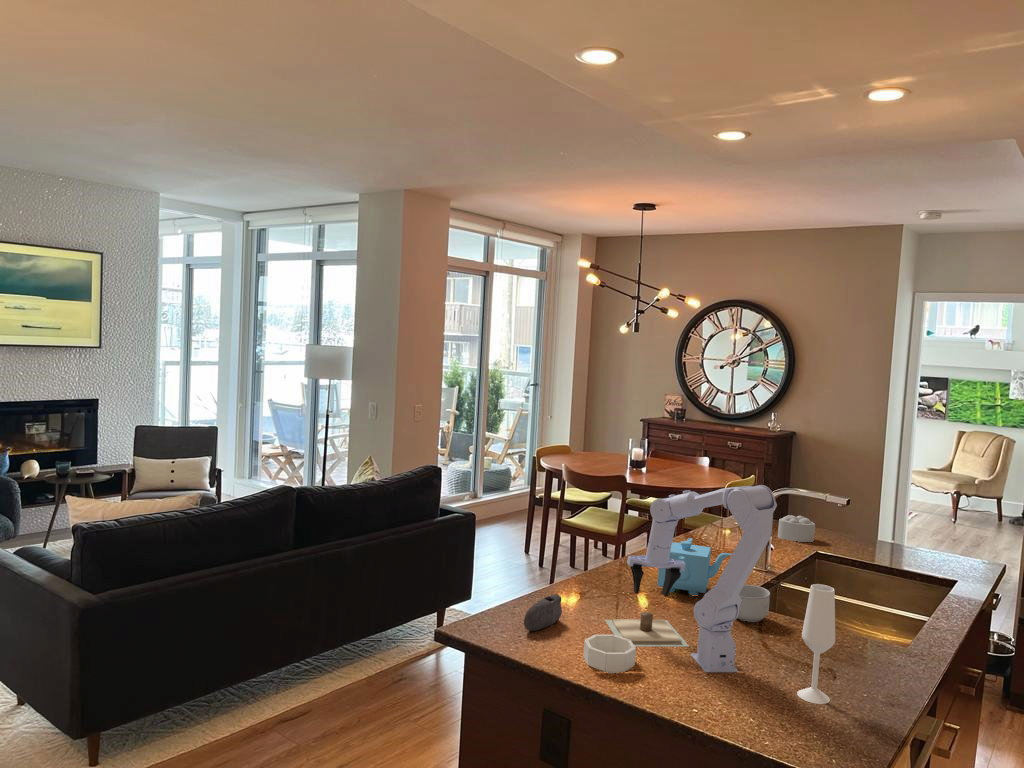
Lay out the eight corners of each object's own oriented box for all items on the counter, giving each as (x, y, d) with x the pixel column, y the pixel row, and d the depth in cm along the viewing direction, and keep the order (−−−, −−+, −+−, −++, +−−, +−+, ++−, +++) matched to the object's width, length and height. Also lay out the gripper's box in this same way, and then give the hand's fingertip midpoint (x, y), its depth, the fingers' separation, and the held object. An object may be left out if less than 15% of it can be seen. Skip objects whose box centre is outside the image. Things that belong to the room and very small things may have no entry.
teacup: (770, 628, 208) (772, 598, 207) (728, 622, 210) (730, 593, 209) (764, 610, 221) (766, 582, 221) (724, 605, 224) (726, 578, 223)
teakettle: (640, 583, 240) (643, 536, 239) (688, 577, 248) (691, 531, 247) (679, 604, 223) (683, 553, 222) (730, 597, 231) (733, 548, 230)
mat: (689, 647, 191) (689, 646, 191) (622, 647, 189) (622, 646, 189) (666, 621, 208) (666, 620, 208) (604, 621, 206) (604, 619, 206)
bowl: (638, 673, 175) (640, 653, 175) (591, 673, 174) (592, 653, 173) (625, 653, 186) (626, 634, 186) (580, 653, 184) (581, 634, 184)
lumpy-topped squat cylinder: (784, 533, 314) (786, 512, 313) (817, 540, 305) (819, 518, 305) (775, 537, 306) (777, 516, 305) (808, 545, 297) (810, 522, 297)
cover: (681, 643, 192) (682, 624, 192) (626, 643, 191) (627, 624, 190) (663, 622, 206) (664, 604, 206) (611, 622, 204) (612, 604, 204)
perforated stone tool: (531, 637, 192) (533, 610, 192) (515, 631, 196) (516, 604, 195) (566, 622, 204) (568, 596, 204) (550, 616, 207) (552, 591, 207)
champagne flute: (799, 701, 166) (809, 591, 164) (794, 687, 172) (803, 581, 171) (833, 705, 164) (842, 594, 163) (826, 691, 171) (835, 584, 169)
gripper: (682, 540, 201) (672, 588, 204) (628, 534, 199) (618, 583, 202) (691, 551, 194) (681, 601, 197) (635, 546, 192) (625, 596, 195)
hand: (650, 593), depth 199 cm, fingers open, 7 cm apart
